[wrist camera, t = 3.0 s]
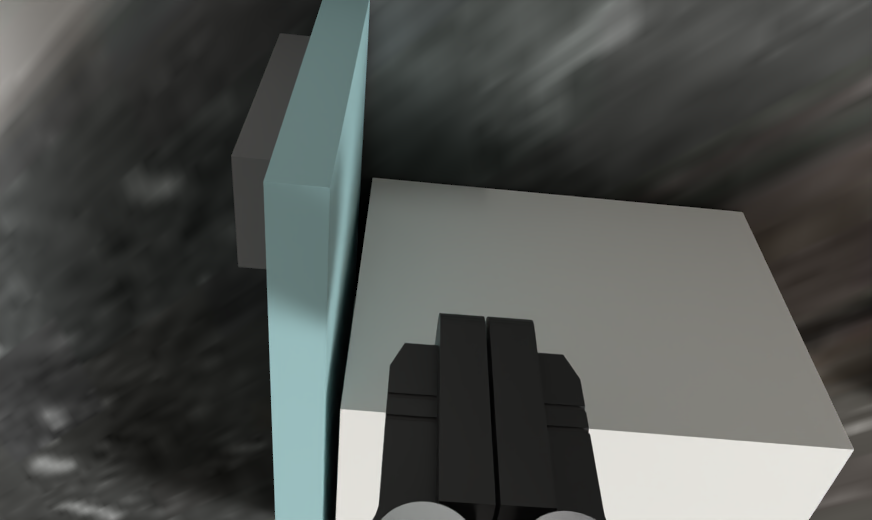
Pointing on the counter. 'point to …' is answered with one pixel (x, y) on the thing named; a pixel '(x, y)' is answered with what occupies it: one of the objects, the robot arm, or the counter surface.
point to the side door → (306, 240)
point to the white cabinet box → (605, 343)
